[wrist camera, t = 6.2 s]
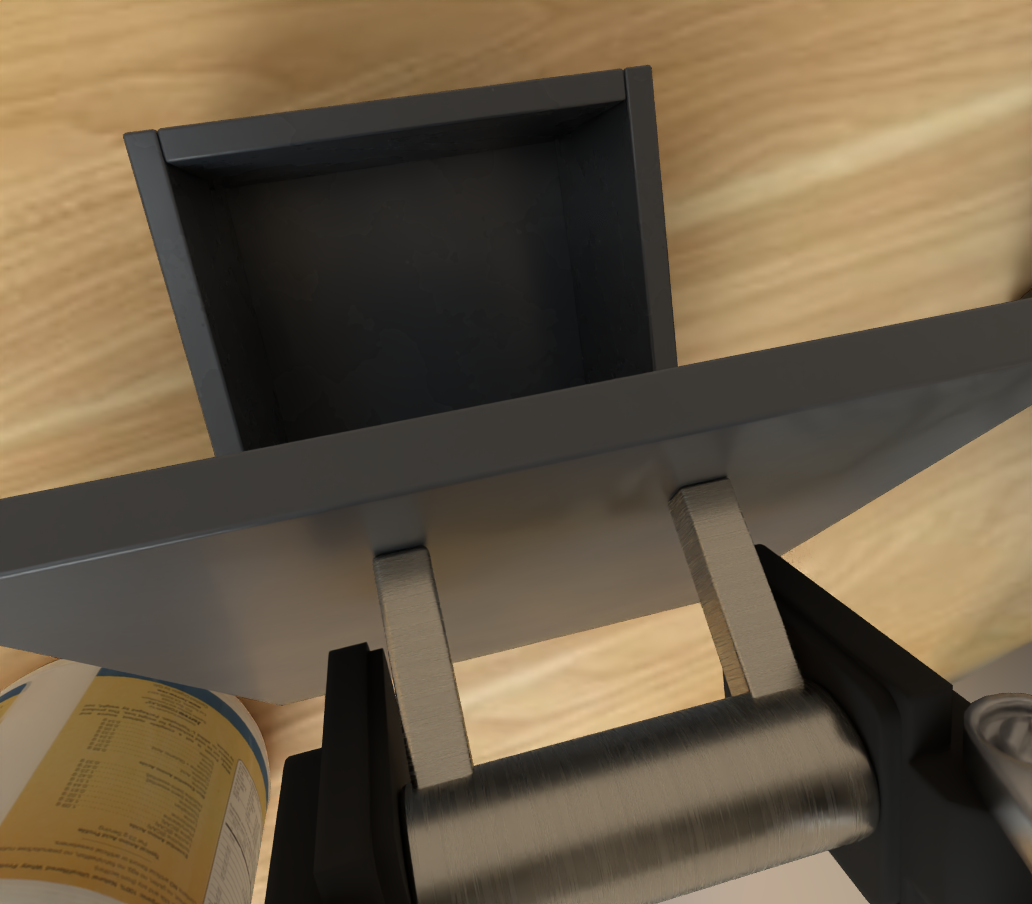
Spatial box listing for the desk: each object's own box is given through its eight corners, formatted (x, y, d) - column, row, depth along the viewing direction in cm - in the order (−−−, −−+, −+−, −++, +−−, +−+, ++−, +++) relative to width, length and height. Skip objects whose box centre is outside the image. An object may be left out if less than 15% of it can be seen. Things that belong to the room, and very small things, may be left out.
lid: (-159, 526, 7) (-225, 1267, 5) (1109, 279, 9) (1402, 739, 7) (276, 679, 22) (300, 871, 20) (699, 576, 24) (756, 742, 22)
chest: (199, 170, 26) (120, 132, 18) (566, 119, 28) (652, 63, 20) (303, 565, 30) (280, 683, 22) (612, 497, 32) (697, 582, 24)
